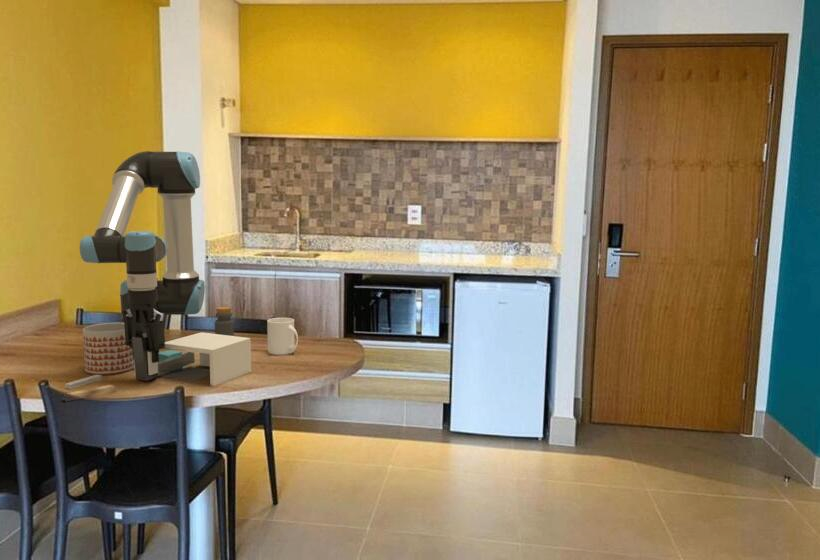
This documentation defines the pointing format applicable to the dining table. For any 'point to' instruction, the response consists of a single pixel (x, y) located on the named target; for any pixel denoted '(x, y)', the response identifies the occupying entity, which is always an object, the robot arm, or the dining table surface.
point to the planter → (106, 349)
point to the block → (169, 356)
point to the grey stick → (83, 381)
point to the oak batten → (95, 391)
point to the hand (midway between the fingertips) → (146, 372)
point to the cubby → (218, 354)
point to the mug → (281, 336)
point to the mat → (188, 373)
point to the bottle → (224, 321)
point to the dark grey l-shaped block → (163, 366)
